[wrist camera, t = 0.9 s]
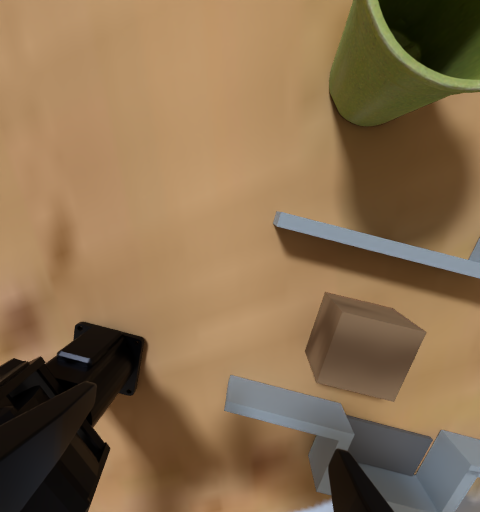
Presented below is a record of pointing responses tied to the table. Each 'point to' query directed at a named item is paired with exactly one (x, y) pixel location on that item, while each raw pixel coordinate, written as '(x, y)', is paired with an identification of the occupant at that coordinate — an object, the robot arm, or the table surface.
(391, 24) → the plant pot
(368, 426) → the grey zigzag track
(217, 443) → the table surface
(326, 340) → the block
